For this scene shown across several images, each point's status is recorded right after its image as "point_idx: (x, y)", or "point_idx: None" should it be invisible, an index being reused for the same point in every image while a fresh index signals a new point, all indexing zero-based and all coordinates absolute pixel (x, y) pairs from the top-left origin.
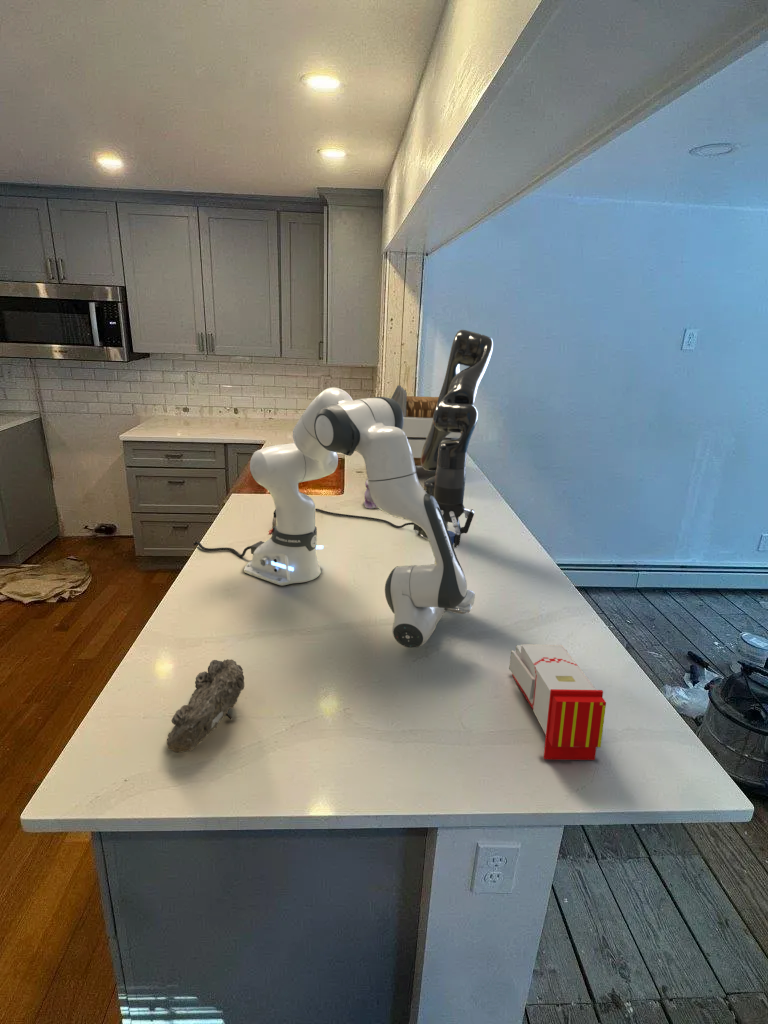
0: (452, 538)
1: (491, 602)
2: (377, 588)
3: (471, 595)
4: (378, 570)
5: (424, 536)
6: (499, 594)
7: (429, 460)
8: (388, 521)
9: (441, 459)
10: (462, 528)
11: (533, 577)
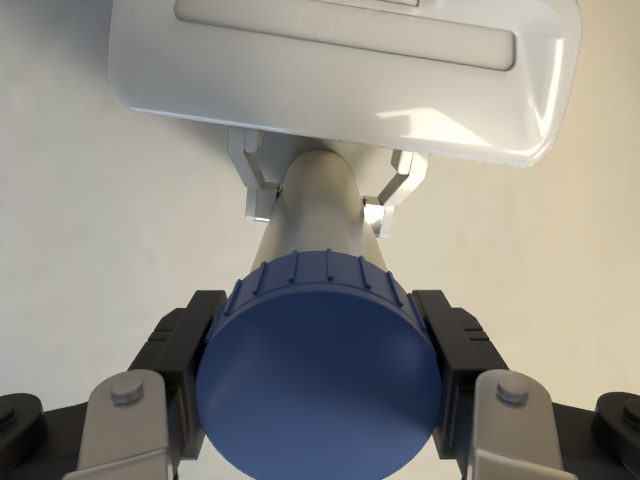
0: (221, 324)
1: (119, 252)
2: (587, 235)
3: (115, 36)
4: (586, 375)
5: None
6: (103, 321)
7: None
8: None
9: None
10: (49, 477)
11: None
